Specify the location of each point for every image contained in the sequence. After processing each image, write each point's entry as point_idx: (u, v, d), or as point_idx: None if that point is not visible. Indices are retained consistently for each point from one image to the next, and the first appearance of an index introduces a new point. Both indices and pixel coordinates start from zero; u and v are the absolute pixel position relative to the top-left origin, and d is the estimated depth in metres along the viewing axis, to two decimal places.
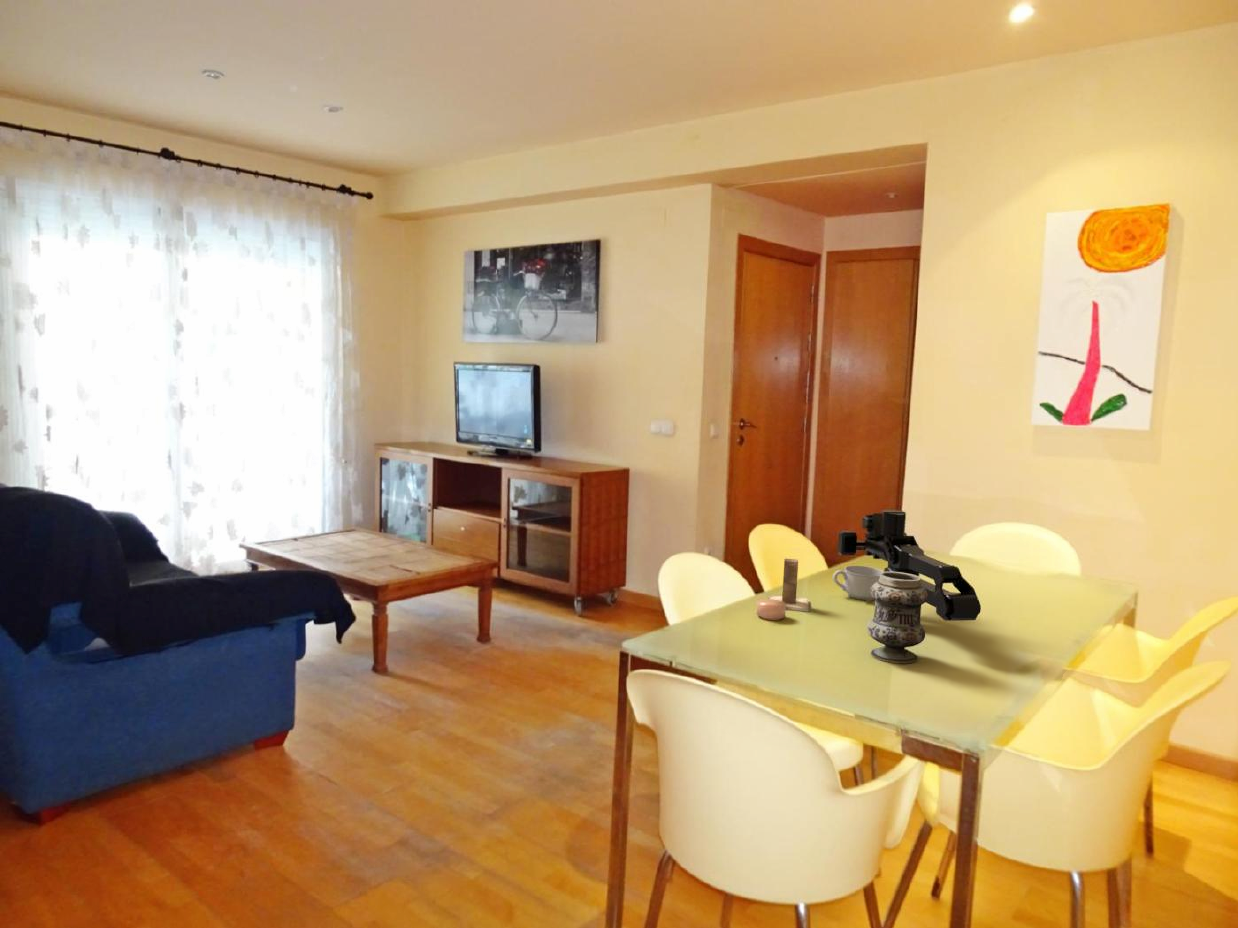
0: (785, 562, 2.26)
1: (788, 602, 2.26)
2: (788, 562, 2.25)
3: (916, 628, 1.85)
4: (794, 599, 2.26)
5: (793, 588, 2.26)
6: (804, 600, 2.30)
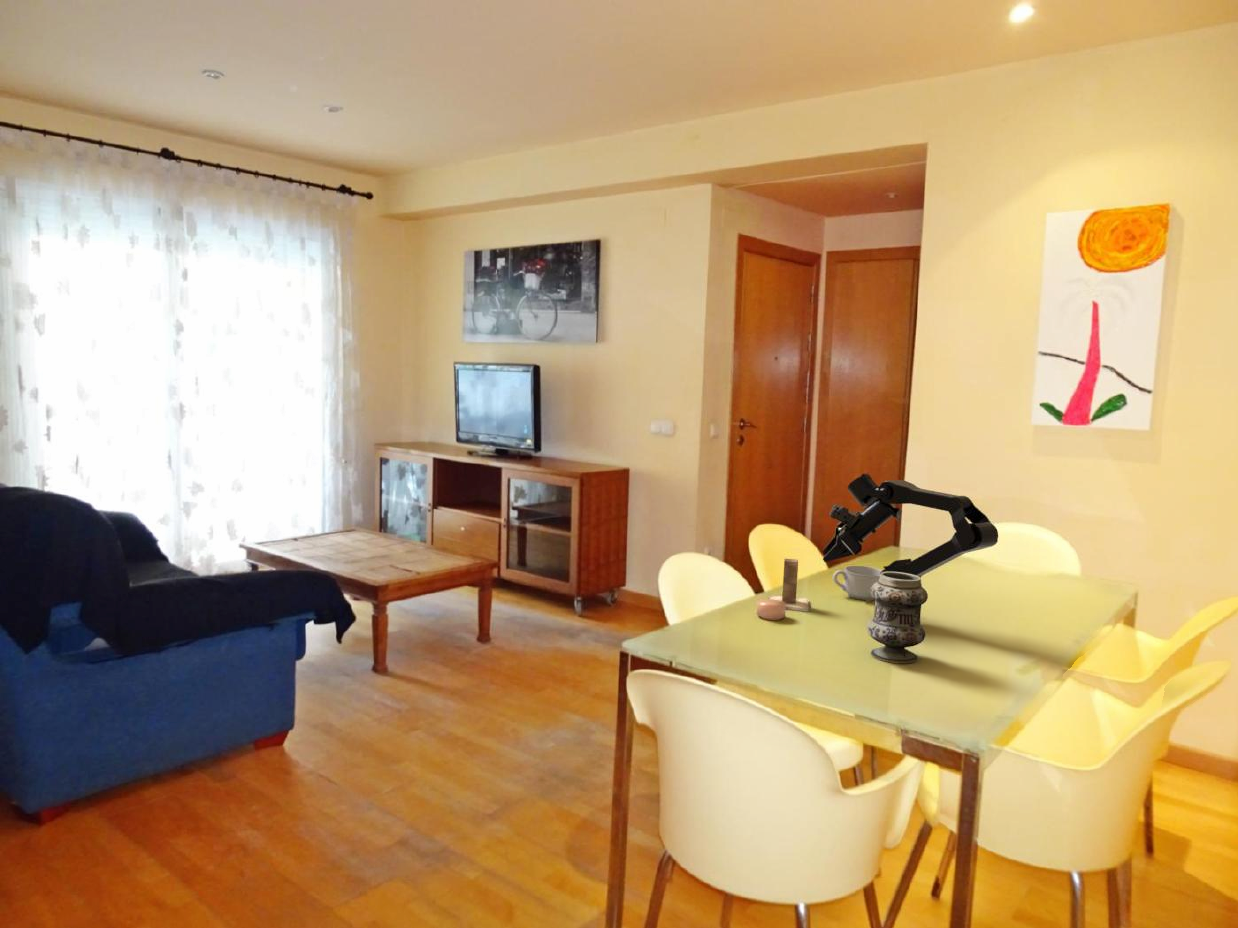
0: (785, 562, 2.26)
1: (788, 602, 2.26)
2: (788, 562, 2.25)
3: (916, 628, 1.85)
4: (794, 599, 2.26)
5: (793, 588, 2.26)
6: (804, 600, 2.30)
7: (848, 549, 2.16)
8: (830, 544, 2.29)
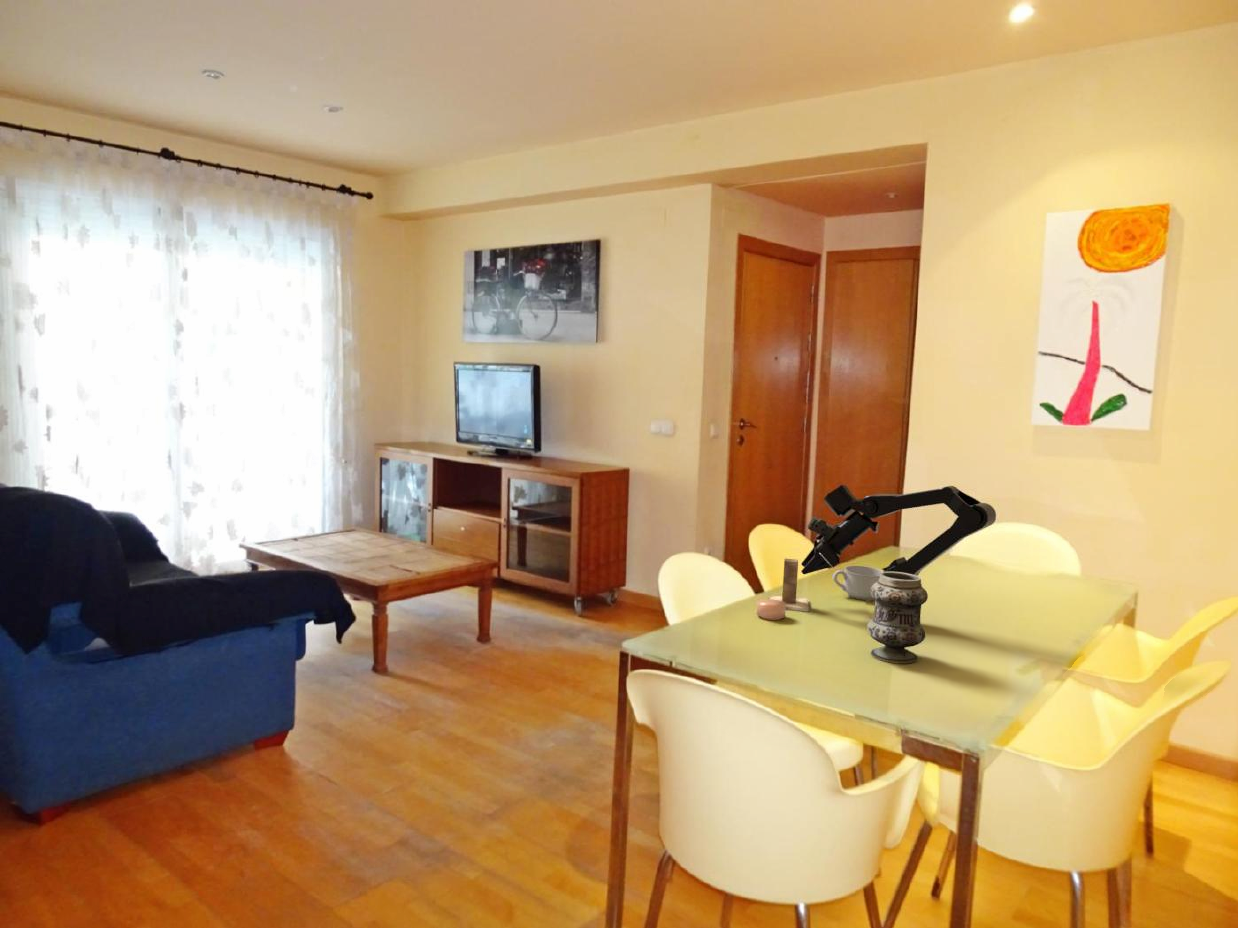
0: (785, 562, 2.26)
1: (788, 602, 2.26)
2: (788, 562, 2.25)
3: (916, 628, 1.85)
4: (794, 599, 2.26)
5: (793, 588, 2.26)
6: (804, 600, 2.30)
7: (826, 561, 2.17)
8: (809, 556, 2.31)
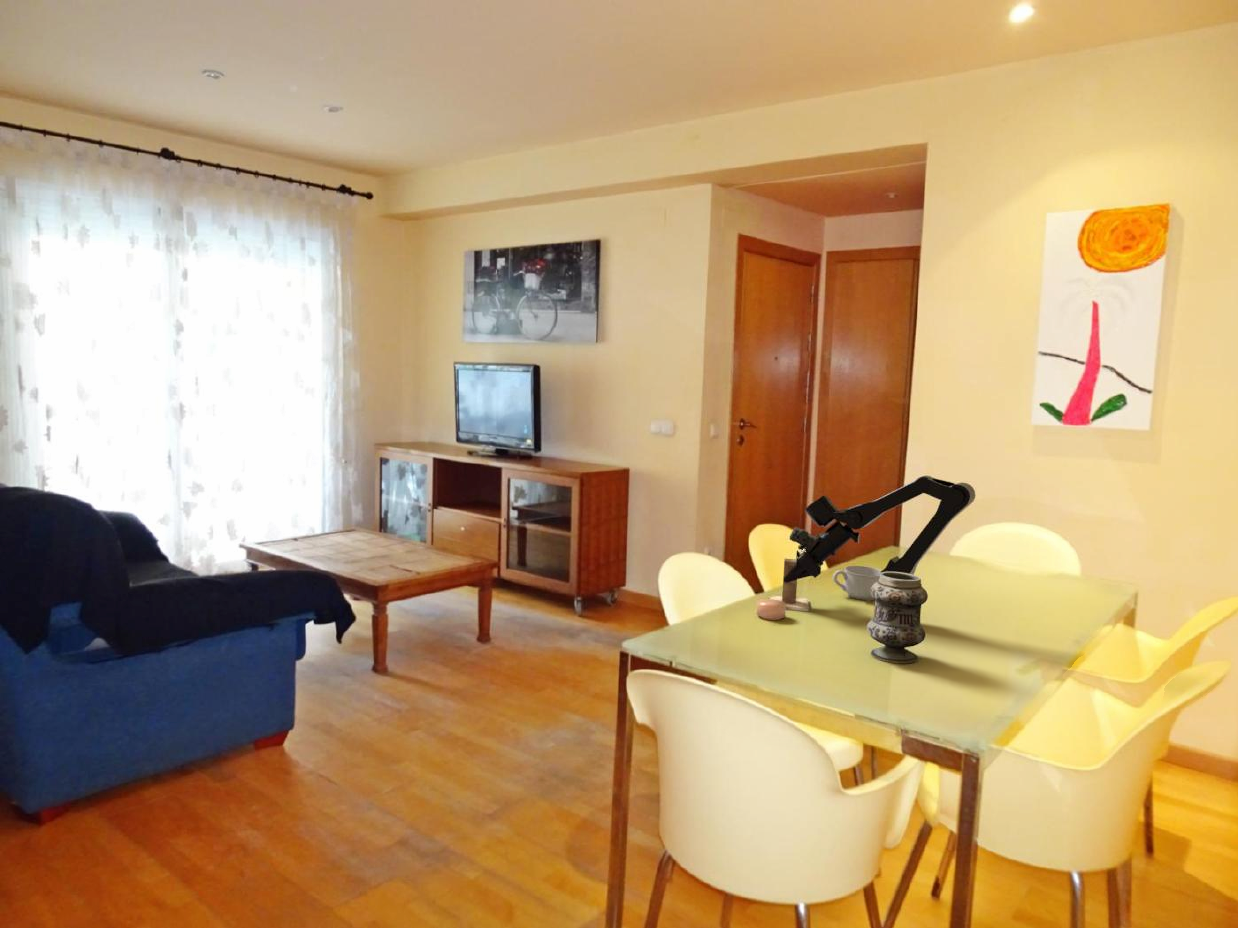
0: (785, 562, 2.26)
1: (788, 602, 2.26)
2: (788, 562, 2.25)
3: (916, 628, 1.85)
4: (794, 599, 2.26)
5: (793, 588, 2.26)
6: (804, 600, 2.30)
7: (807, 570, 2.21)
8: None
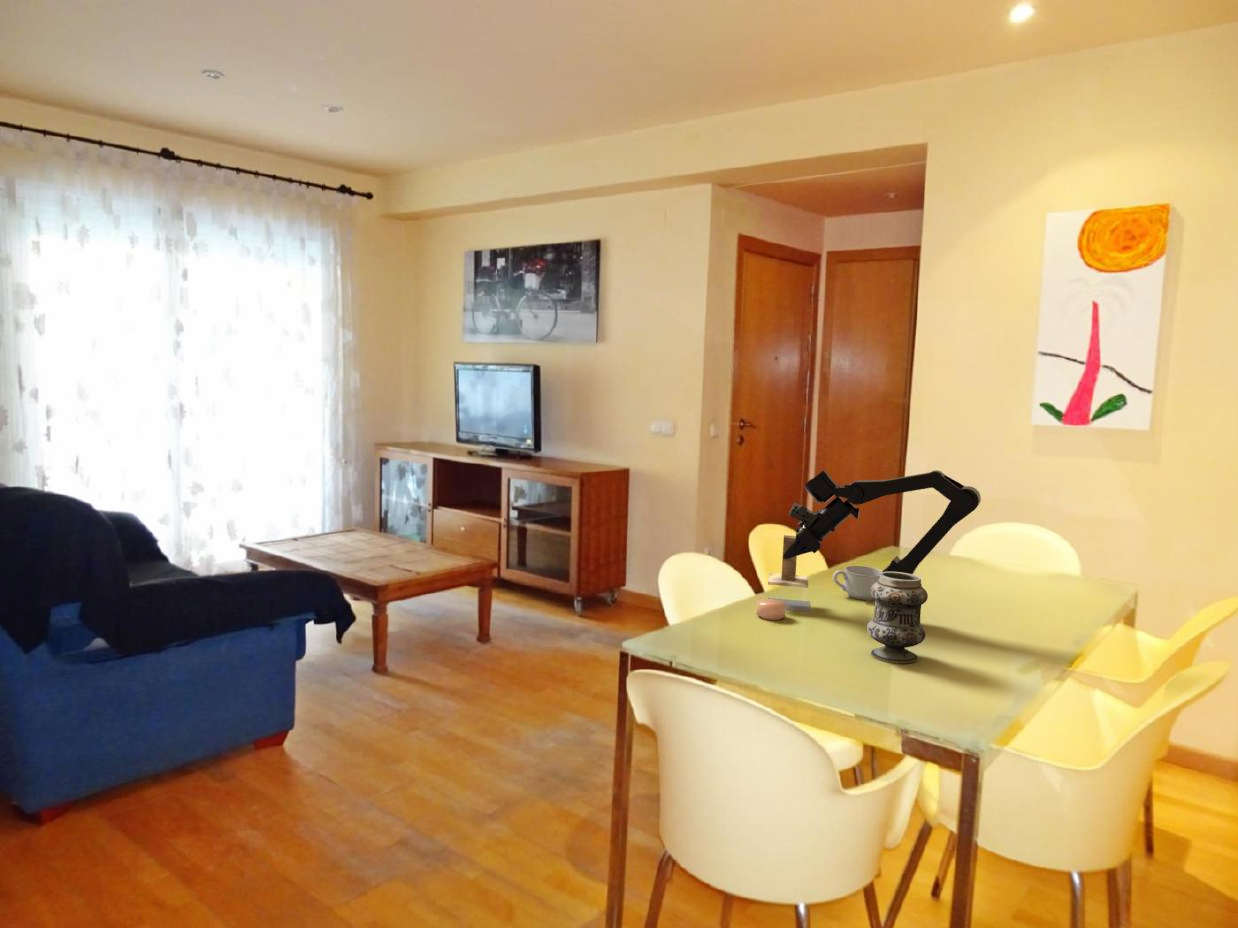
0: (784, 538, 2.24)
1: (788, 579, 2.24)
2: (787, 538, 2.23)
3: (916, 628, 1.85)
4: (794, 576, 2.24)
5: (792, 565, 2.24)
6: (804, 577, 2.28)
7: (807, 546, 2.19)
8: None
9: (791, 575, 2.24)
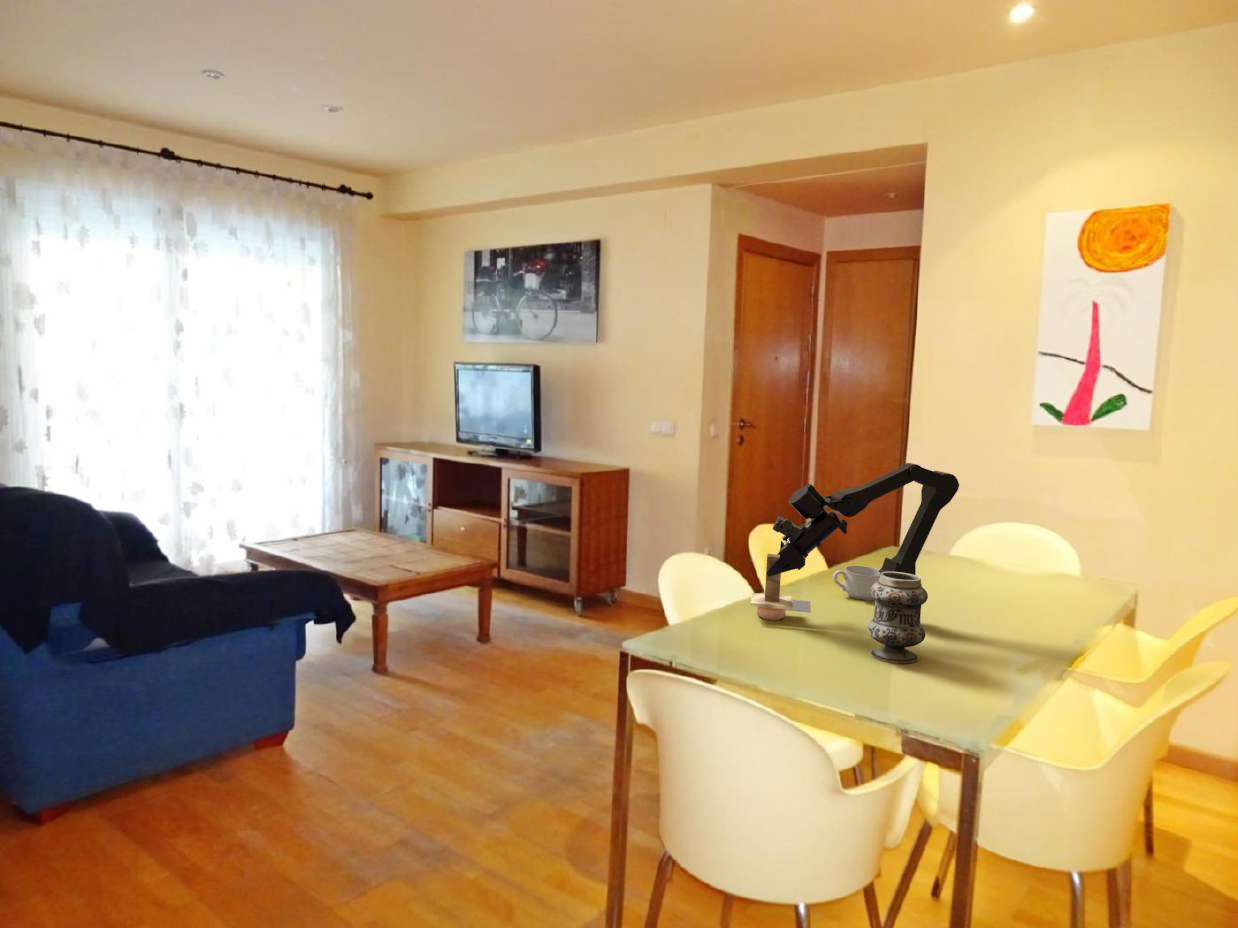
0: (768, 558, 2.13)
1: (771, 600, 2.14)
2: (771, 557, 2.13)
3: (916, 628, 1.85)
4: (777, 597, 2.13)
5: (776, 586, 2.13)
6: (788, 598, 2.17)
7: (791, 562, 2.07)
8: None
9: (775, 596, 2.13)
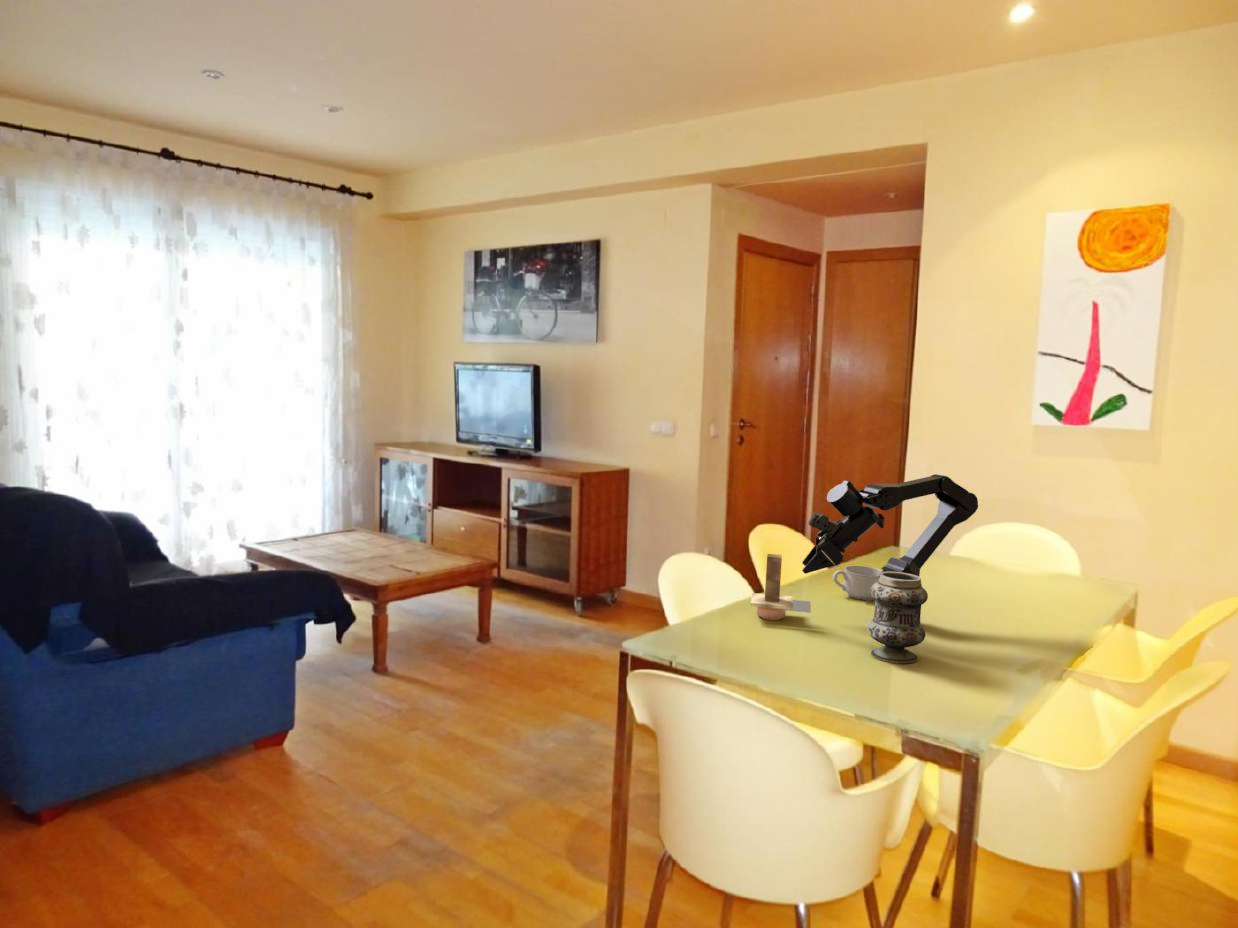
0: (768, 557, 2.13)
1: (771, 600, 2.14)
2: (771, 557, 2.13)
3: (916, 628, 1.85)
4: (777, 597, 2.13)
5: (776, 586, 2.13)
6: (788, 598, 2.17)
7: (828, 559, 2.04)
8: (810, 554, 2.17)
9: (775, 596, 2.13)
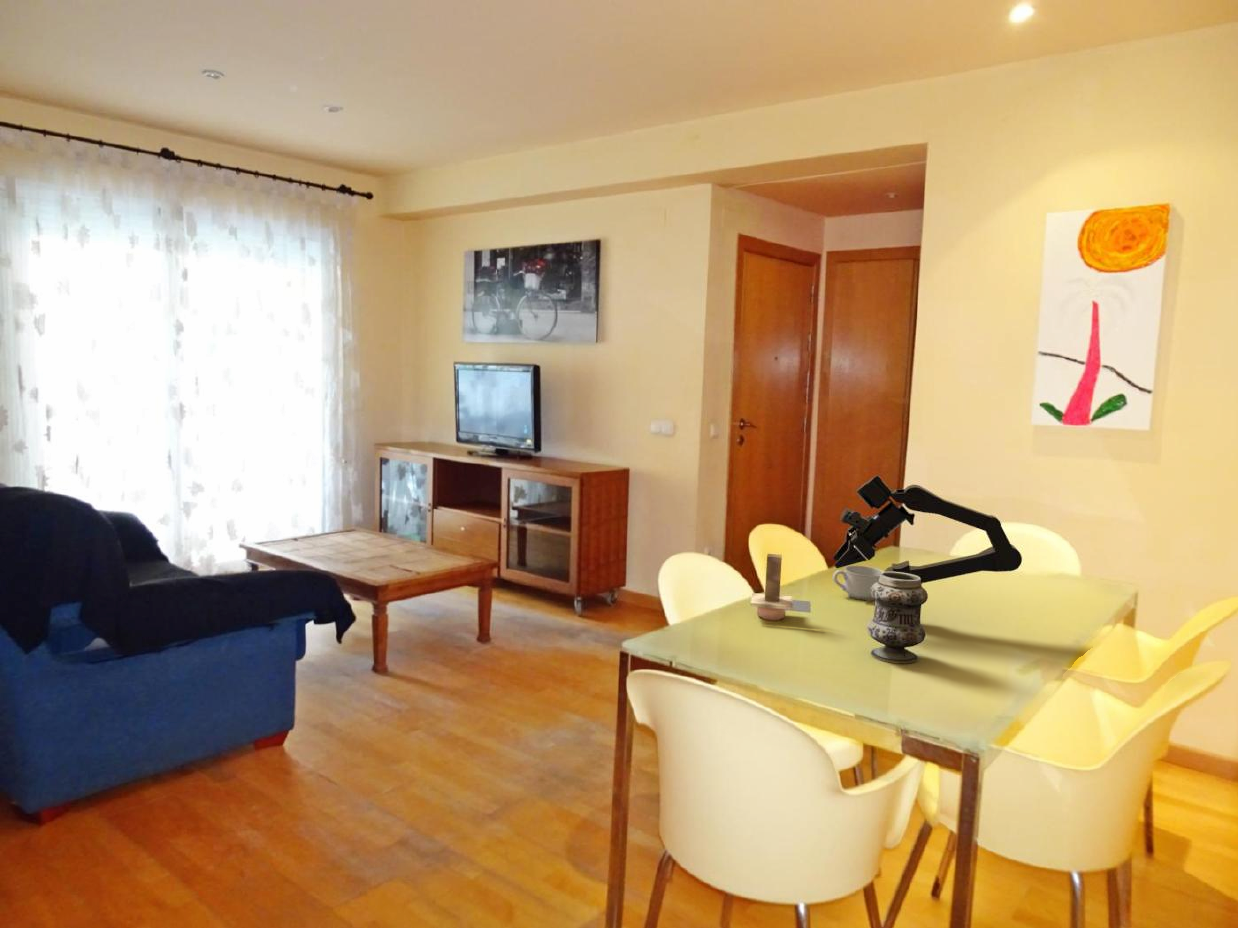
0: (768, 557, 2.13)
1: (771, 600, 2.14)
2: (771, 557, 2.13)
3: (916, 628, 1.85)
4: (777, 597, 2.13)
5: (776, 586, 2.13)
6: (788, 598, 2.17)
7: (861, 554, 2.10)
8: (841, 550, 2.23)
9: (775, 596, 2.13)
